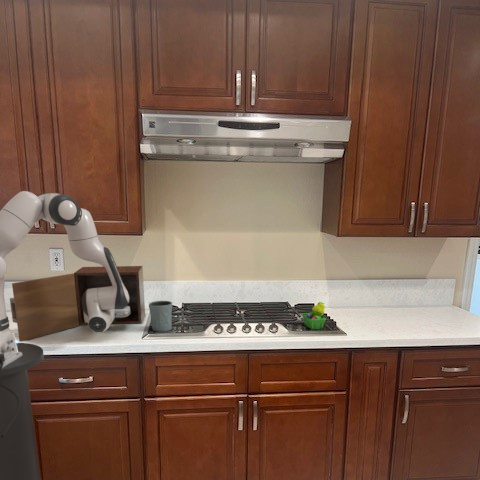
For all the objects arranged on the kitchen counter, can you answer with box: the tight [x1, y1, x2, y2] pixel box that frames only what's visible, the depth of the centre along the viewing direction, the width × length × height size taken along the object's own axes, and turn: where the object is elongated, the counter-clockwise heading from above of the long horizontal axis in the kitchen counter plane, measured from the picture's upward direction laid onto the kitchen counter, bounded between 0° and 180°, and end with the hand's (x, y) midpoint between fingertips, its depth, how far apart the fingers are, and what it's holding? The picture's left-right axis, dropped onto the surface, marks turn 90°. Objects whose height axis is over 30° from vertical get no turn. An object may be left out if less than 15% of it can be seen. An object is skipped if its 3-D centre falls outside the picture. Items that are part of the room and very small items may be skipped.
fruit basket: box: [301, 301, 327, 331], centre depth 210 cm, size 11×9×11 cm
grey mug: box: [148, 300, 173, 333], centre depth 206 cm, size 10×10×12 cm
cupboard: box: [73, 265, 146, 327], centre depth 220 cm, size 18×28×24 cm, turn 96°
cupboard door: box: [9, 273, 80, 343], centre depth 200 cm, size 7×28×24 cm, turn 146°
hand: (109, 307), depth 215 cm, fingers open, 8 cm apart
